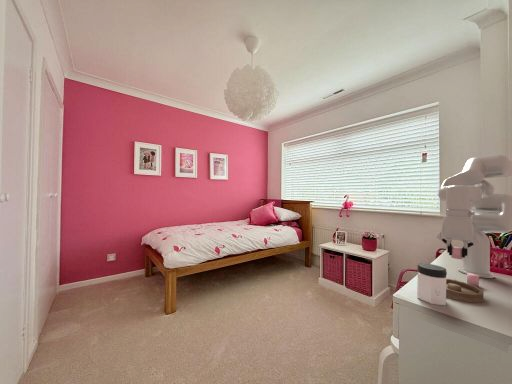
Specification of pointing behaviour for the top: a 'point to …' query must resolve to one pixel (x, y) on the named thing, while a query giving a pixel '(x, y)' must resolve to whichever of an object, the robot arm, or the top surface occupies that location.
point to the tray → (463, 291)
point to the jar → (431, 283)
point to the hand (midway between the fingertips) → (457, 255)
